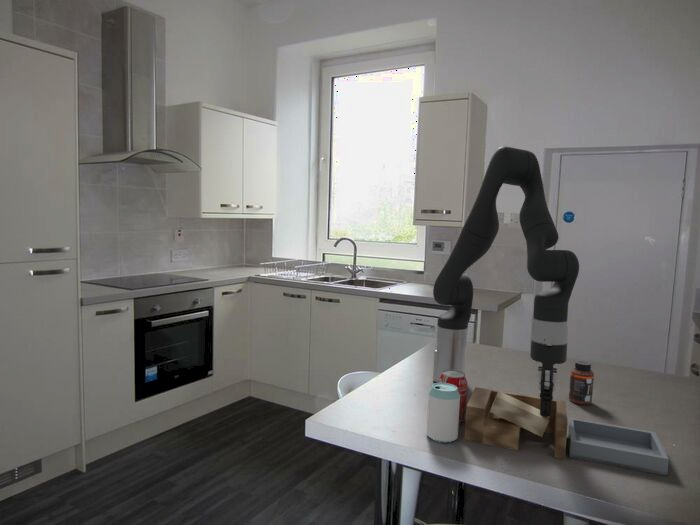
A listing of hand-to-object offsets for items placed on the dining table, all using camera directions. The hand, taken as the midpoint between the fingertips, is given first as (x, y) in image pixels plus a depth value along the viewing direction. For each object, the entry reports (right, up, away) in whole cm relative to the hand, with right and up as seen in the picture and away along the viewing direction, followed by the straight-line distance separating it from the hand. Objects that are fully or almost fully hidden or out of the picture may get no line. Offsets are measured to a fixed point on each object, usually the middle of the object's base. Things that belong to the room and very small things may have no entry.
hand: (545, 414), depth 111 cm
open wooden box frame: (-6, -6, +4) cm, 9 cm away
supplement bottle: (+21, -5, +29) cm, 36 cm away
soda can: (-19, -5, +12) cm, 23 cm away
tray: (+14, -8, -2) cm, 16 cm away
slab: (-6, -2, +2) cm, 7 cm away
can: (-23, -6, +2) cm, 24 cm away
